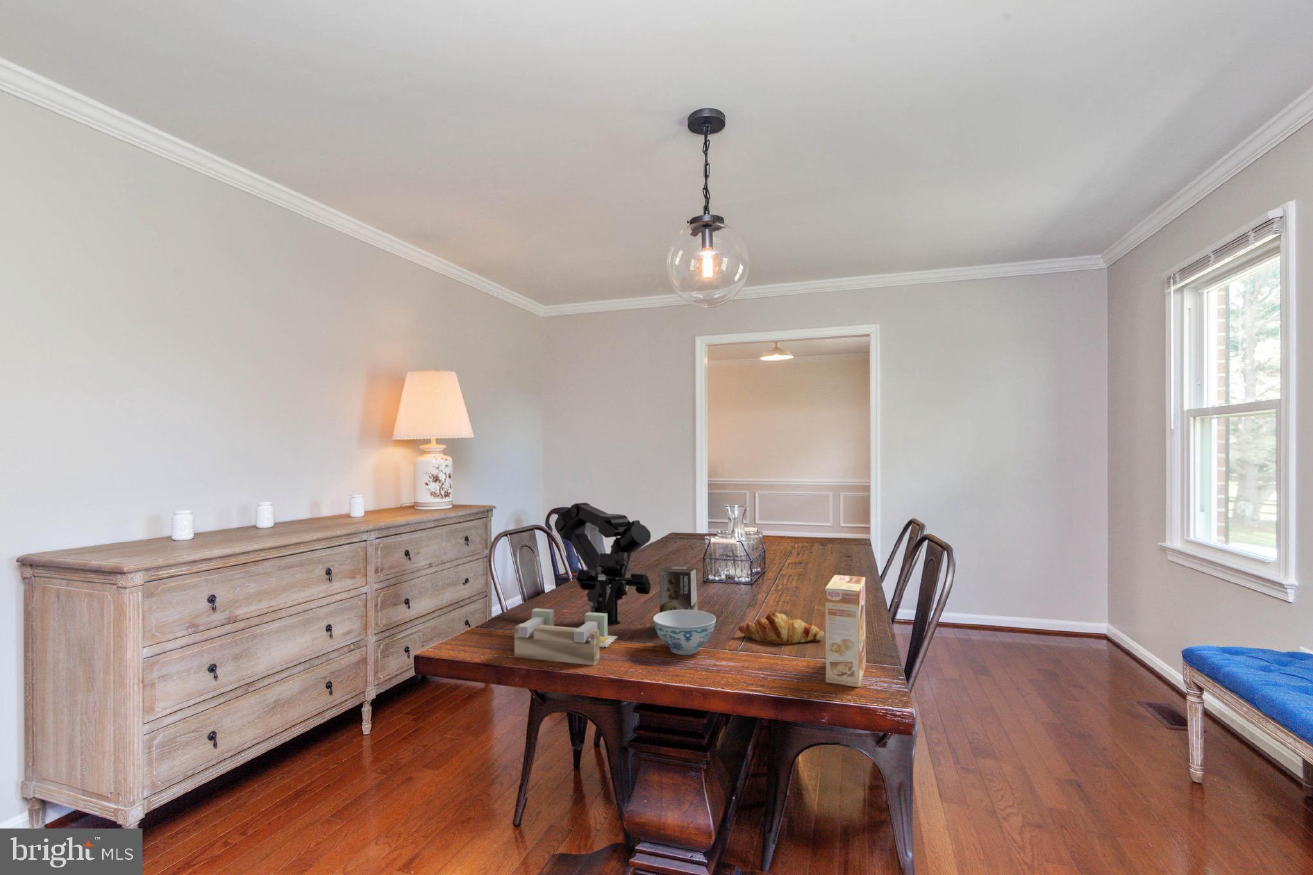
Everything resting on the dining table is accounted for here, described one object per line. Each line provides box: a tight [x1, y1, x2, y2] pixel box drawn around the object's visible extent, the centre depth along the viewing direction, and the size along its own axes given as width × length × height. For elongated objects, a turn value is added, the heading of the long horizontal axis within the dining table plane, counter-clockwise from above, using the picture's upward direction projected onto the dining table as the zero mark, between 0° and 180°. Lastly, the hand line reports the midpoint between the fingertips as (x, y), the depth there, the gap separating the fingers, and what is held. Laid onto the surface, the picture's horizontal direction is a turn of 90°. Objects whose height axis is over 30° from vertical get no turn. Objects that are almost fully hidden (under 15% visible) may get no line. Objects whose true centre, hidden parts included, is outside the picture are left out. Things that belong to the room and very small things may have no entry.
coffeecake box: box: [824, 574, 867, 688], centre depth 133 cm, size 15×7×20 cm, turn 156°
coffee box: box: [658, 566, 699, 613], centre depth 166 cm, size 9×6×16 cm
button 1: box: [518, 607, 555, 638], centre depth 148 cm, size 11×5×5 cm, turn 163°
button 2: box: [574, 611, 609, 643], centre depth 144 cm, size 11×5×5 cm, turn 163°
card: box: [588, 634, 618, 648], centre depth 157 cm, size 8×12×1 cm, turn 73°
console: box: [513, 623, 600, 666], centre depth 144 cm, size 3×20×7 cm, turn 73°
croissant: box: [738, 612, 825, 645], centre depth 157 cm, size 21×10×8 cm, turn 82°
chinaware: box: [652, 609, 717, 656], centre depth 149 cm, size 15×15×8 cm
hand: (604, 611), depth 153 cm, fingers closed
